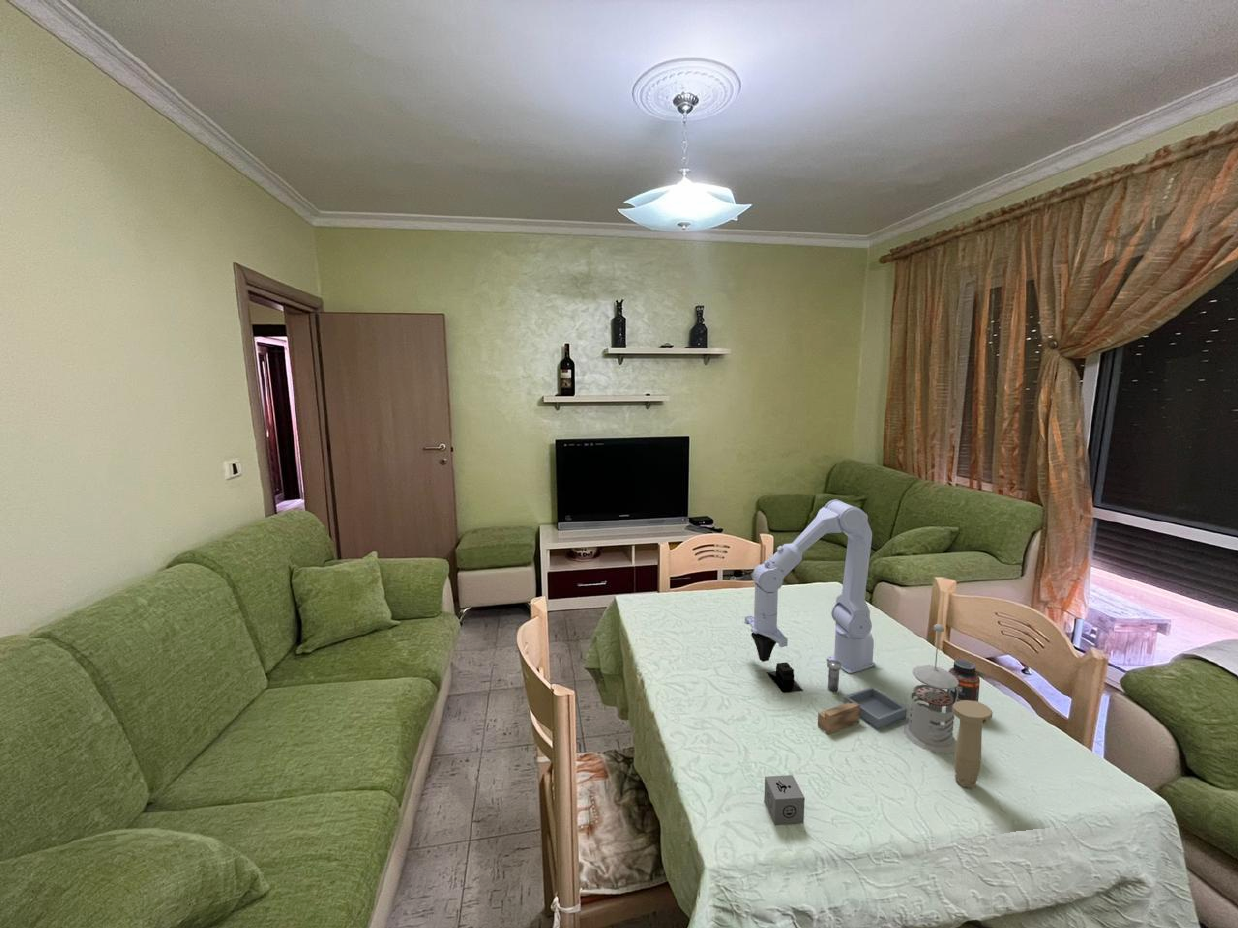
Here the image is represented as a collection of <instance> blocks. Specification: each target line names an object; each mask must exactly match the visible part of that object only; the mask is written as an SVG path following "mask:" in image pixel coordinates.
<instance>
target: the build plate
mask: <svg viewBox="0 0 1238 928" xmlns="http://www.w3.org/2000/svg"><path fill="white" fill-rule="evenodd" d="M765 673H766V674H767V676H768V677H769V679H771V681H772V682H773V683H774V684H775V685H776V686H777V688H778V689H779V691H781V693H782V694H786V693H787V694H789V693H798V692H804V689H803V688H802V687H801V686H800V685H799V684H798V682H797V681H796V680H795V669H794V668H793V667H792V666H791V665H790V664H789V663H788V662H777V663H776V666H775V670H772V671H771V670H770V671H765Z"/></svg>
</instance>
